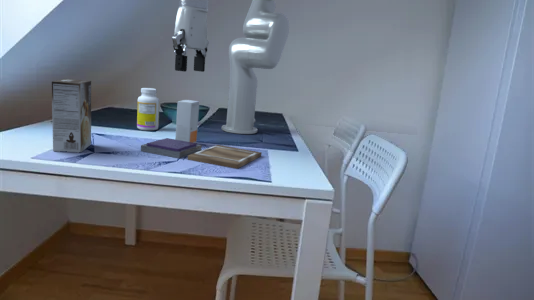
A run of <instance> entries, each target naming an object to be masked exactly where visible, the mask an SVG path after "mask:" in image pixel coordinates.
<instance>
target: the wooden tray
mask: <svg viewBox="0 0 534 300" xmlns="http://www.w3.org/2000/svg"><path fill="white" fill-rule="evenodd" d="M262 154H263V153H262V152H260V151H255V150H250V149H243V148H239V147H234V146H233V147H232V146H225V145H220V144H216V145H213V146H210V147H208V148H205V149H201V151H199V152H196V153H193V154H190V155H188V156H187V160H188V161H194V162H200V163H205V164H210V165H214V166H215V165H216V166H221V167H227V168H231V169H236V170H237V169H239V168H241V167H243V166H245V165H247V164H249V163H251V162H254V161H256V159H259V158H260V157H262Z"/></svg>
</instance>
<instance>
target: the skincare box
mask: <svg viewBox="0 0 534 300" xmlns="http://www.w3.org/2000/svg"><path fill="white" fill-rule="evenodd" d="M199 113H200V101H198V100H191V99H182V100H178V101H177V107H176V121H175V122H176V123H175V125H176V126H175V140H181V141H187V142H192V143H197V141H198V140H197V139H198V129H199V128H198V126H199Z"/></svg>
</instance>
